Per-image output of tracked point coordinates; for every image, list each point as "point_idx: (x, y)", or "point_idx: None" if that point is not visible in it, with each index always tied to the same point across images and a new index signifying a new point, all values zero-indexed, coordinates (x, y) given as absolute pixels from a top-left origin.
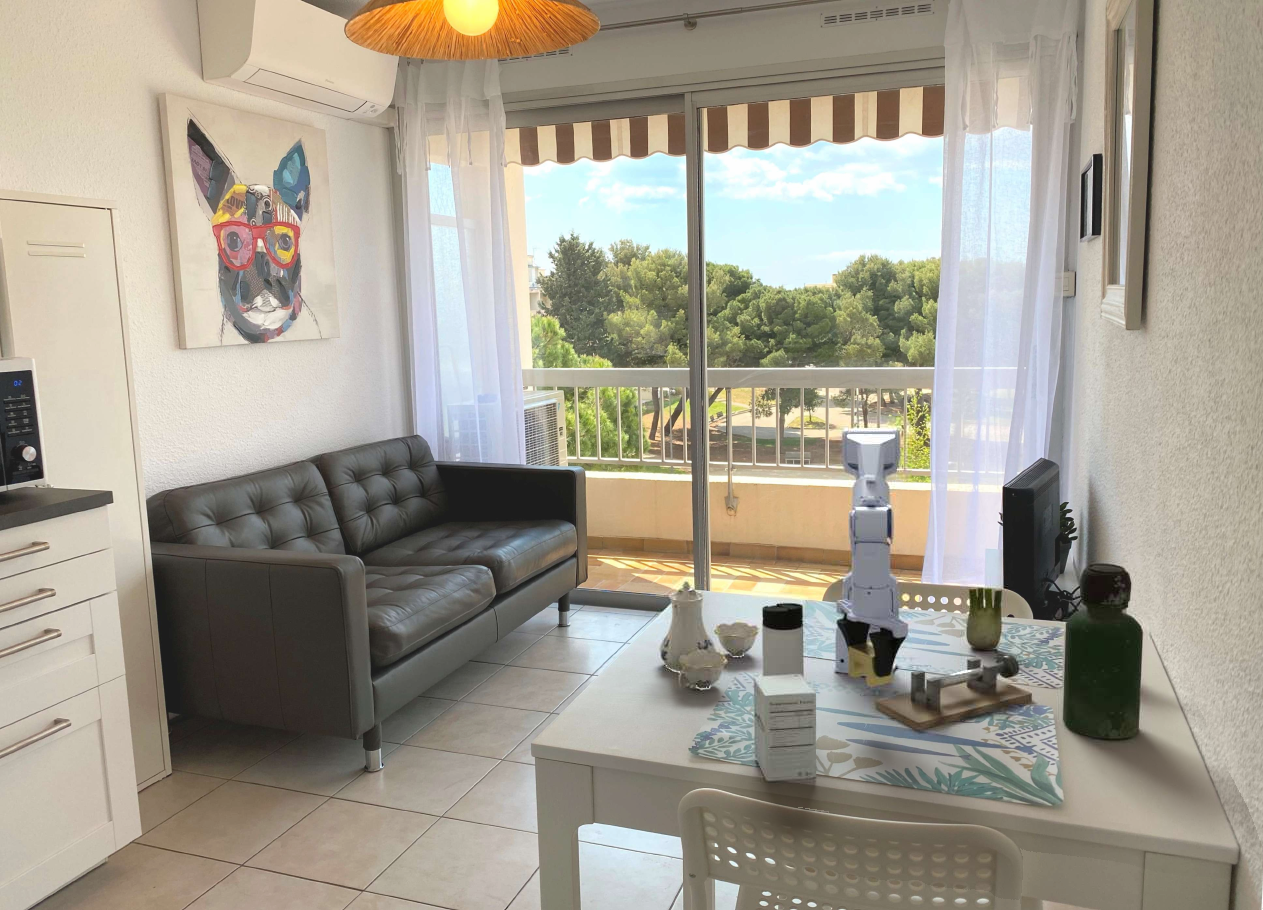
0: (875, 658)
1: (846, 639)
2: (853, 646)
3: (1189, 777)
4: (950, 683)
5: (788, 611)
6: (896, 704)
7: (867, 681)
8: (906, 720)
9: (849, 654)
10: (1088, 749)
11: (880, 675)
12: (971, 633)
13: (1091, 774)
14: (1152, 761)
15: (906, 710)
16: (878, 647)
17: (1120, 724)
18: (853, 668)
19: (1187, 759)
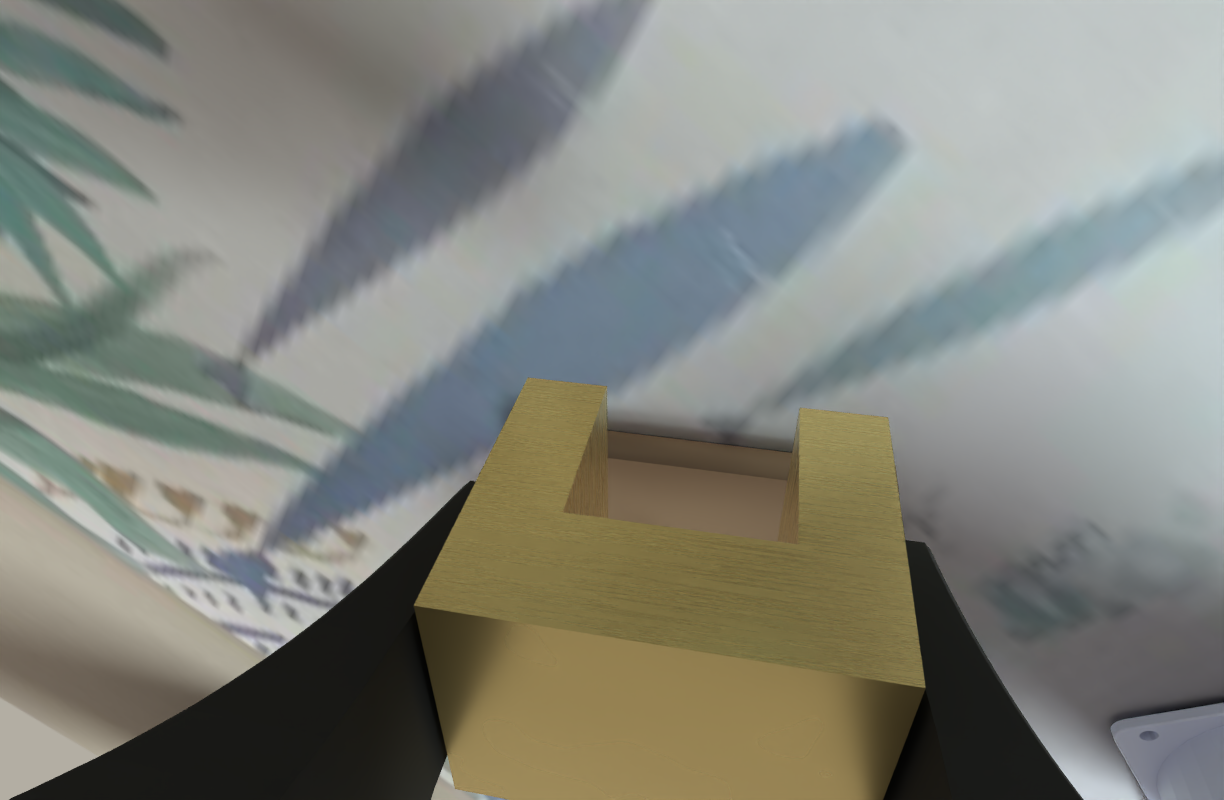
0: (407, 609)
1: (1022, 790)
2: (870, 711)
3: (13, 685)
4: None
5: None
6: (778, 531)
7: (584, 400)
8: (624, 446)
9: (892, 588)
10: (203, 672)
11: (455, 494)
12: None
13: (40, 562)
14: (107, 704)
15: (688, 513)
16: (181, 732)
17: None
18: (807, 469)
19: (109, 749)
